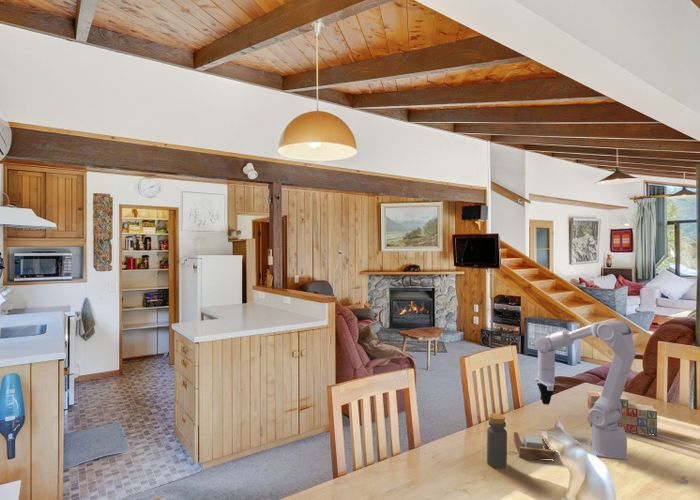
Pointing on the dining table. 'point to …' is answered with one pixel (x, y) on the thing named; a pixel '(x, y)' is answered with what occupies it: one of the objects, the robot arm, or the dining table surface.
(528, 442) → the block
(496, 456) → the bottle
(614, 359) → the robot arm
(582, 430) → the dining table surface
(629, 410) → the stack of blocks
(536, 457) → the holder
